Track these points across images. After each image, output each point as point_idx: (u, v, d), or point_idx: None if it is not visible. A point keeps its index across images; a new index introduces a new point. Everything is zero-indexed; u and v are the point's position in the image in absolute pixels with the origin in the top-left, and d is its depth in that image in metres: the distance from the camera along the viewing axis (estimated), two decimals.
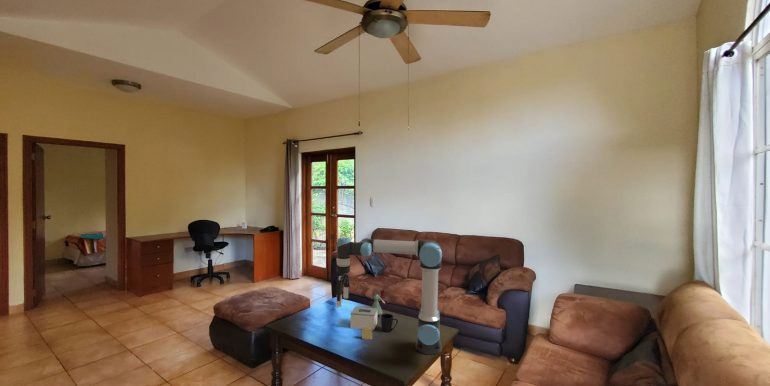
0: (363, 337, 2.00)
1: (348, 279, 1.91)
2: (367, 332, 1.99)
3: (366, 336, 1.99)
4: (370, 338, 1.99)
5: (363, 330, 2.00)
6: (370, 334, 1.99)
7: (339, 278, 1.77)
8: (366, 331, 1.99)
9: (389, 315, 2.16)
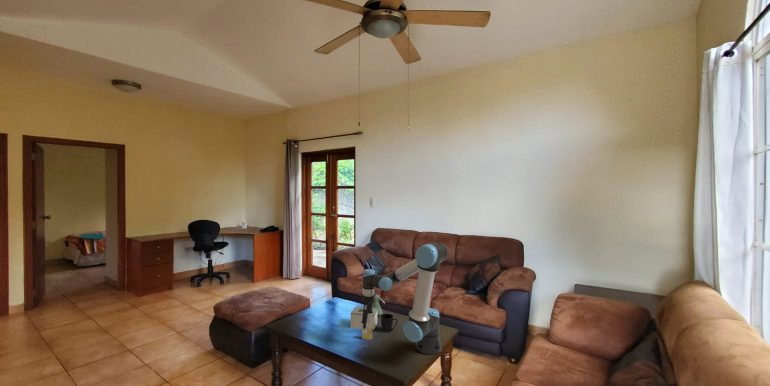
0: (363, 337, 2.00)
1: (371, 306, 2.08)
2: (367, 332, 1.99)
3: (366, 336, 1.99)
4: (370, 338, 1.99)
5: None
6: (370, 334, 1.99)
7: (365, 307, 1.94)
8: None
9: (389, 315, 2.16)
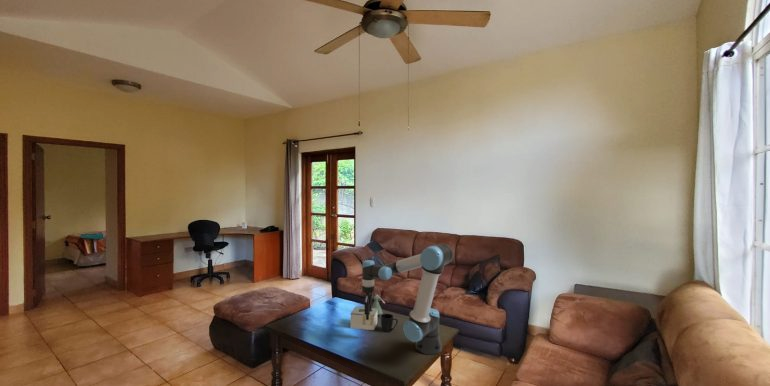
0: (364, 323, 1.99)
1: (371, 302, 2.05)
2: None
3: None
4: (371, 324, 1.98)
5: (364, 316, 1.99)
6: (371, 320, 1.98)
7: (366, 301, 1.94)
8: None
9: (389, 315, 2.16)
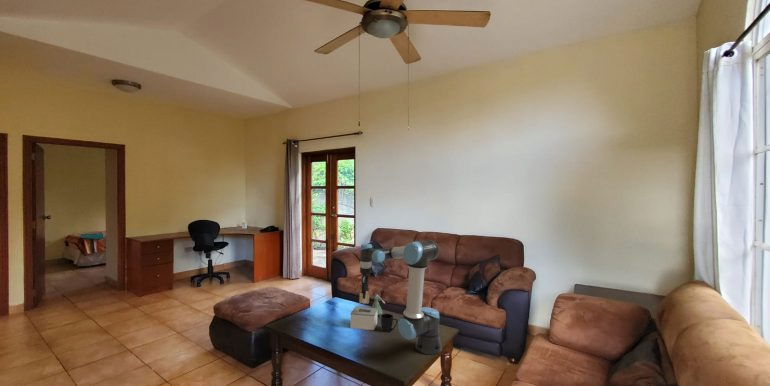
0: (360, 301, 2.15)
1: None
2: None
3: None
4: (367, 302, 2.14)
5: (360, 295, 2.15)
6: (367, 298, 2.14)
7: (363, 281, 2.10)
8: None
9: (389, 315, 2.16)
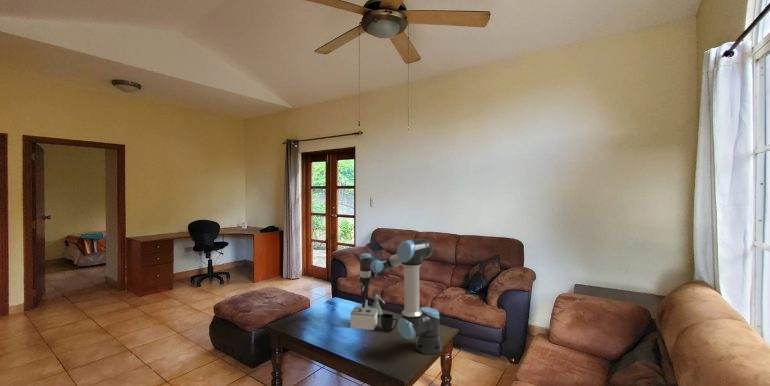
0: None
1: None
2: None
3: None
4: None
5: None
6: None
7: (362, 290, 2.13)
8: None
9: (389, 315, 2.16)
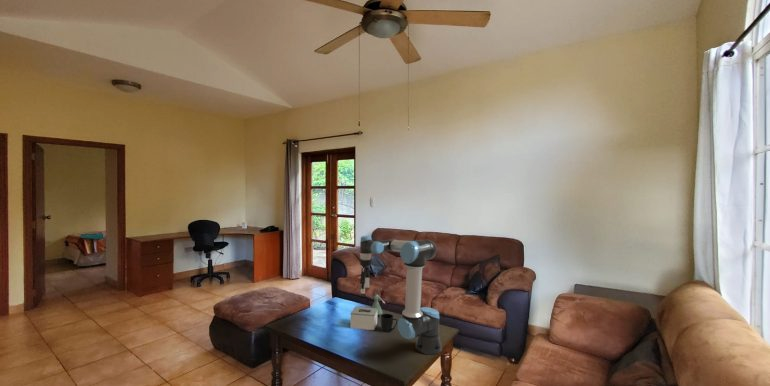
0: None
1: (369, 271, 2.26)
2: None
3: None
4: None
5: None
6: None
7: (363, 269, 2.12)
8: None
9: (389, 315, 2.16)
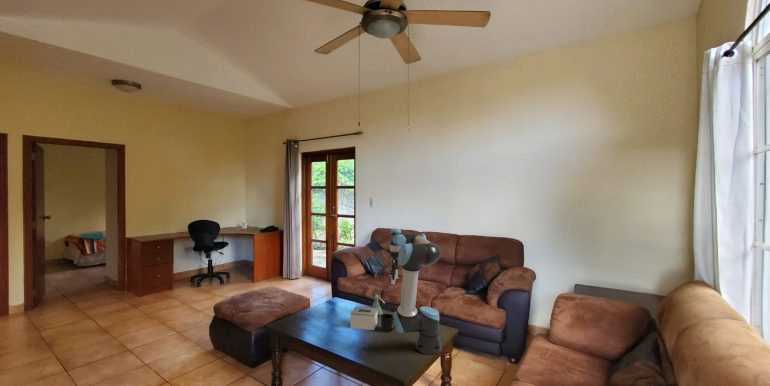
0: None
1: None
2: None
3: None
4: None
5: None
6: None
7: (393, 261, 2.19)
8: None
9: (389, 315, 2.16)
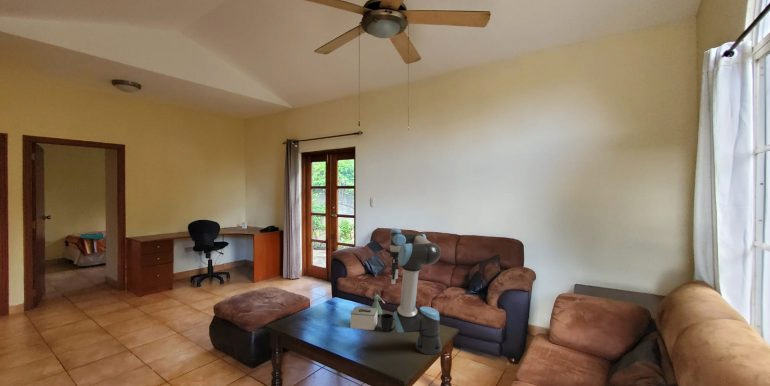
0: None
1: None
2: None
3: None
4: None
5: None
6: None
7: (393, 261, 2.19)
8: None
9: (389, 315, 2.16)
